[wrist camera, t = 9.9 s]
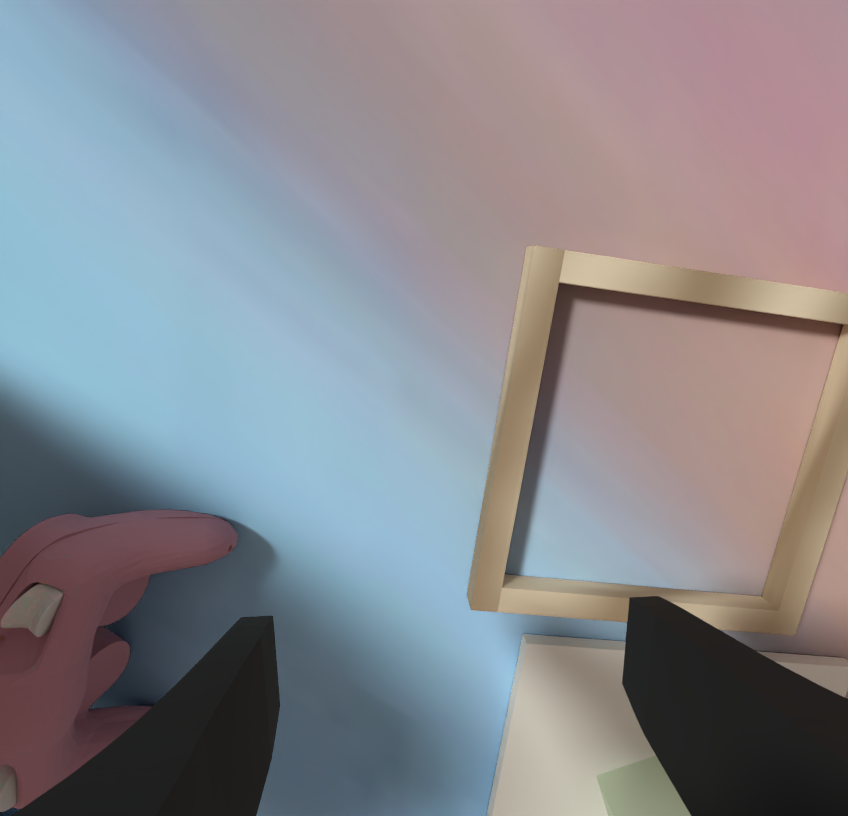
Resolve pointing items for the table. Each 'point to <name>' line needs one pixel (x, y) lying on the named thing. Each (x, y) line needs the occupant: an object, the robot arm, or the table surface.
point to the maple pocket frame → (542, 272)
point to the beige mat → (585, 723)
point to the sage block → (640, 791)
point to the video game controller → (79, 632)
